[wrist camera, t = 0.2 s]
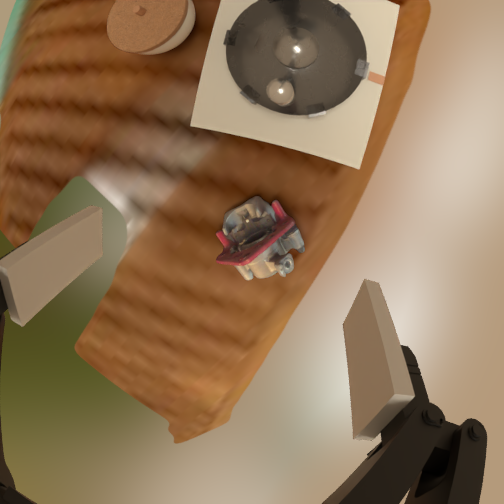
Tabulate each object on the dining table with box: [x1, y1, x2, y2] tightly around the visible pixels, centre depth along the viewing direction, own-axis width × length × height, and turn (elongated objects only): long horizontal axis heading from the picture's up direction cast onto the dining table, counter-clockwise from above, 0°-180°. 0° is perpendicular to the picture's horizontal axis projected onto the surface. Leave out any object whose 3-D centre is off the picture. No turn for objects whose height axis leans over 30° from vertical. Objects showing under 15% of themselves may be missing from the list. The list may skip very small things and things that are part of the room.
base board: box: [190, 0, 399, 169], centre depth 30 cm, size 24×22×2 cm
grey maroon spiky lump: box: [216, 196, 305, 280], centre depth 39 cm, size 11×11×12 cm
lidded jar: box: [107, 0, 196, 55], centre depth 27 cm, size 11×11×9 cm
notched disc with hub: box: [223, 0, 370, 118], centre depth 25 cm, size 16×17×9 cm
